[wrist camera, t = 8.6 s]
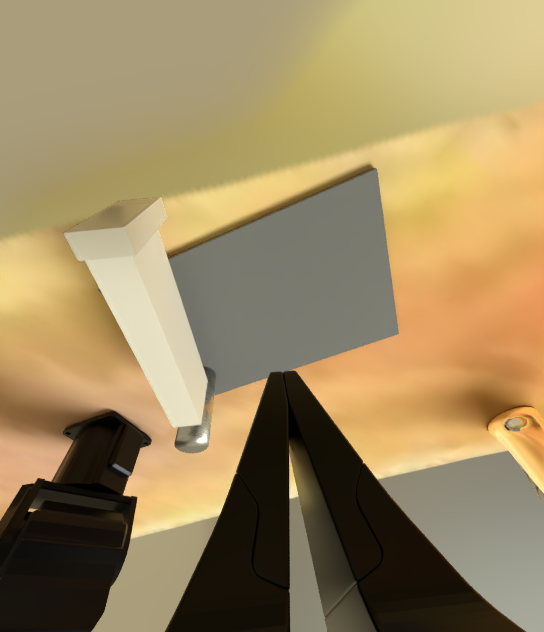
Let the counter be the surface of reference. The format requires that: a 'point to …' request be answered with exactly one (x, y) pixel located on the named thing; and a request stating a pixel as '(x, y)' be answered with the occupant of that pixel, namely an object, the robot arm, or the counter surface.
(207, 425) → the gate post
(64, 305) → the counter surface
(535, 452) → the beer glass
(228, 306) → the mat
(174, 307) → the cream long block
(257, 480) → the robot arm
